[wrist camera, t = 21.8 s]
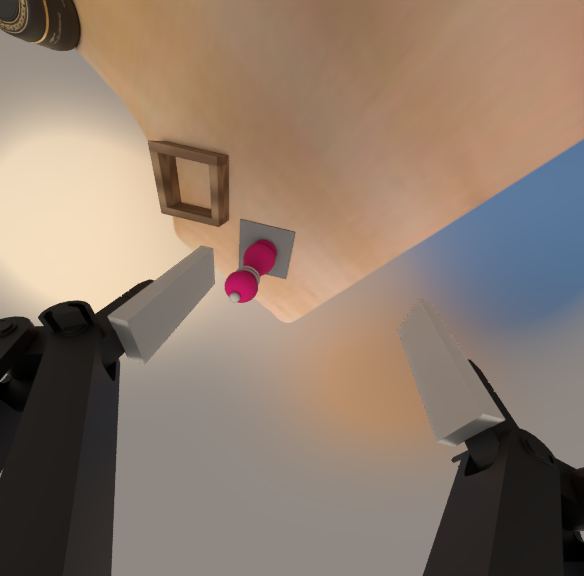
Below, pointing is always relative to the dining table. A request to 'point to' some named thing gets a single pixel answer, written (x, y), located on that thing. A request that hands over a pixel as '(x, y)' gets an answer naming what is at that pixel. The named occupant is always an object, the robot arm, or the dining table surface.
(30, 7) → the jar
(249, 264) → the pepper mill
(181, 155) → the walnut box
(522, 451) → the robot arm
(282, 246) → the mat
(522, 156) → the dining table surface
